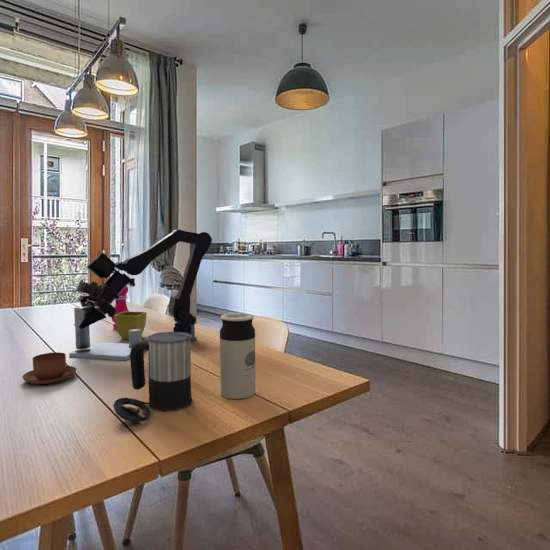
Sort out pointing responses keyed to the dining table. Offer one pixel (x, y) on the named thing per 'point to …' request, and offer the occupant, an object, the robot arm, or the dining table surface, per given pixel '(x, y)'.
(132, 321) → the flower pot
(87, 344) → the grey metallic rounded cylinder
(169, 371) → the milk frother
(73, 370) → the cup and saucer
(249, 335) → the travel mug
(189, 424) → the dining table surface
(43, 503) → the dining table surface
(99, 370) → the dining table surface
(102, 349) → the flange plate
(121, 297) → the pepper mill
